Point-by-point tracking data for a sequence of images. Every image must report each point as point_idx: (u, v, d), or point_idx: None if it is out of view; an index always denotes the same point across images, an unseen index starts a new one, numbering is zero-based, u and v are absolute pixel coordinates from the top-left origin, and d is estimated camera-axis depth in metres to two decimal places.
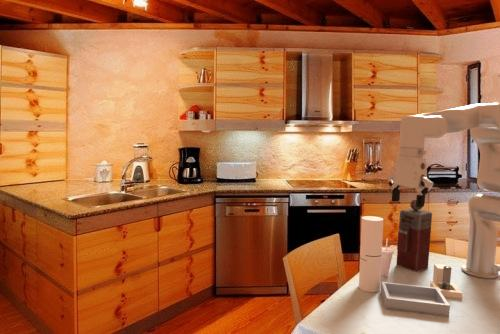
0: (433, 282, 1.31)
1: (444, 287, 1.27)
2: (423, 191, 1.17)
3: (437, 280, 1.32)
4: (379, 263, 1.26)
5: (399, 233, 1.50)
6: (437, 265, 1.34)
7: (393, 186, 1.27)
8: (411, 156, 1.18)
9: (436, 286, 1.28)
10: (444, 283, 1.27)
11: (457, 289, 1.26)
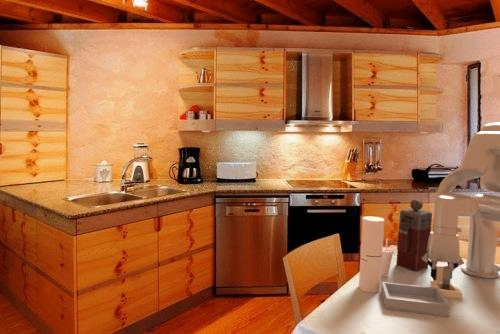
0: (433, 282, 1.31)
1: (444, 287, 1.27)
2: (454, 268, 1.32)
3: (437, 280, 1.32)
4: (379, 263, 1.26)
5: (399, 233, 1.50)
6: (437, 265, 1.34)
7: (434, 265, 1.33)
8: (454, 235, 1.29)
9: (436, 286, 1.28)
10: (444, 283, 1.27)
11: (457, 289, 1.26)
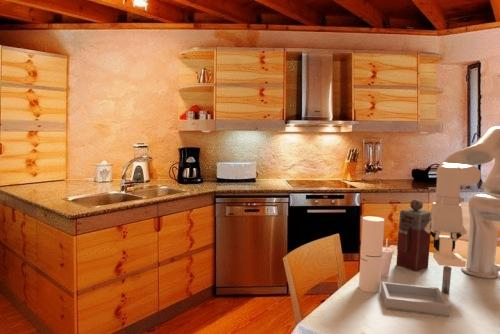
0: (436, 252, 1.31)
1: (444, 287, 1.27)
2: (457, 238, 1.31)
3: (440, 250, 1.31)
4: (379, 263, 1.26)
5: (399, 233, 1.50)
6: (440, 236, 1.34)
7: (437, 235, 1.32)
8: (457, 204, 1.28)
9: (439, 256, 1.27)
10: (444, 283, 1.27)
11: (460, 258, 1.25)
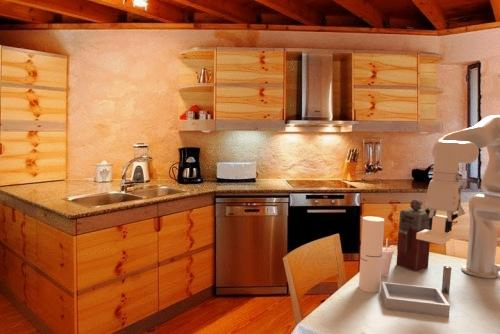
0: (426, 230, 1.27)
1: (444, 287, 1.27)
2: (453, 219, 1.23)
3: (432, 229, 1.26)
4: (379, 263, 1.26)
5: (399, 233, 1.50)
6: (438, 215, 1.28)
7: (431, 213, 1.27)
8: (450, 181, 1.21)
9: (423, 231, 1.24)
10: (444, 283, 1.27)
11: (442, 236, 1.19)
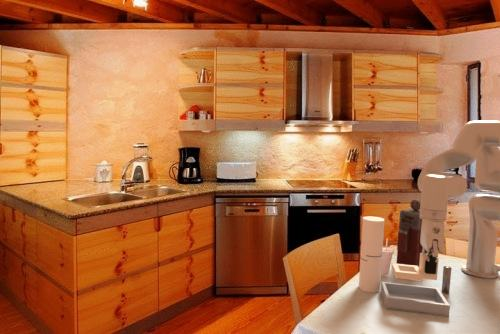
0: (414, 266, 1.21)
1: (444, 287, 1.27)
2: (429, 259, 1.13)
3: (419, 266, 1.19)
4: (379, 263, 1.26)
5: (399, 233, 1.50)
6: (430, 254, 1.18)
7: (422, 250, 1.20)
8: (425, 218, 1.14)
9: (403, 265, 1.22)
10: (444, 283, 1.27)
11: (404, 271, 1.16)
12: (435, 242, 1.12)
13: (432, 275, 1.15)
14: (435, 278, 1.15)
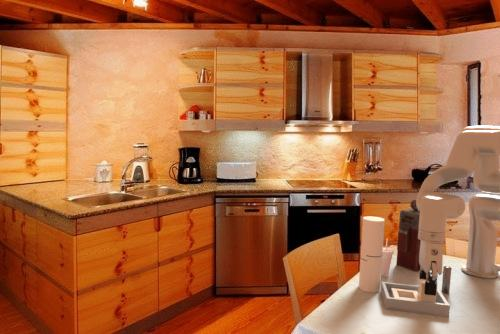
0: (413, 291, 1.22)
1: (444, 287, 1.27)
2: (429, 280, 1.12)
3: (418, 292, 1.20)
4: (380, 263, 1.26)
5: (399, 233, 1.50)
6: None
7: (420, 268, 1.22)
8: (423, 239, 1.14)
9: (402, 290, 1.23)
10: (444, 283, 1.27)
11: (403, 298, 1.17)
12: (433, 264, 1.12)
13: None
14: None
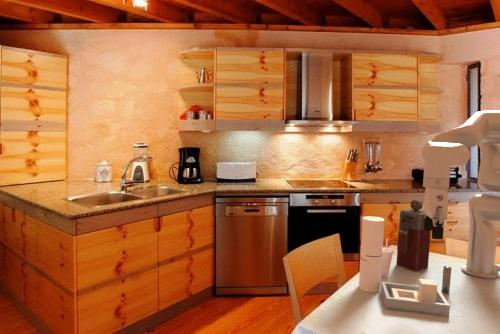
0: (413, 291, 1.22)
1: (444, 287, 1.27)
2: (436, 223, 1.14)
3: (418, 292, 1.20)
4: (379, 263, 1.26)
5: (399, 233, 1.50)
6: (429, 280, 1.19)
7: (425, 214, 1.25)
8: (428, 186, 1.17)
9: (402, 290, 1.23)
10: (444, 283, 1.27)
11: (403, 298, 1.17)
12: None
13: None
14: None
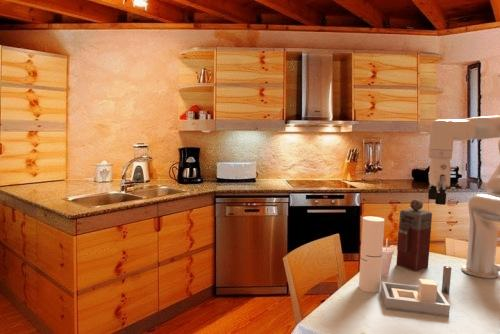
0: (413, 291, 1.22)
1: (444, 287, 1.27)
2: (440, 189, 1.27)
3: (418, 292, 1.20)
4: (379, 263, 1.26)
5: (399, 233, 1.50)
6: (429, 280, 1.19)
7: (430, 185, 1.38)
8: (433, 157, 1.30)
9: (402, 290, 1.23)
10: (444, 283, 1.27)
11: (403, 298, 1.17)
12: None
13: None
14: None
